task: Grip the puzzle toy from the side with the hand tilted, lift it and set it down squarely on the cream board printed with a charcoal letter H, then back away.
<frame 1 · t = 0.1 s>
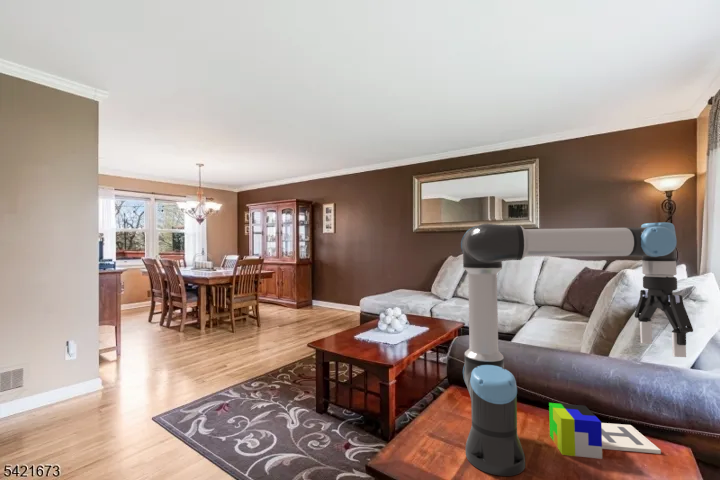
hand: (661, 349, 99), 28 cm above the table, tool pointing down, fingers open, 13 cm apart
letter board: (616, 437, 104), on the table
puzzle toy: (574, 447, 99), on the table
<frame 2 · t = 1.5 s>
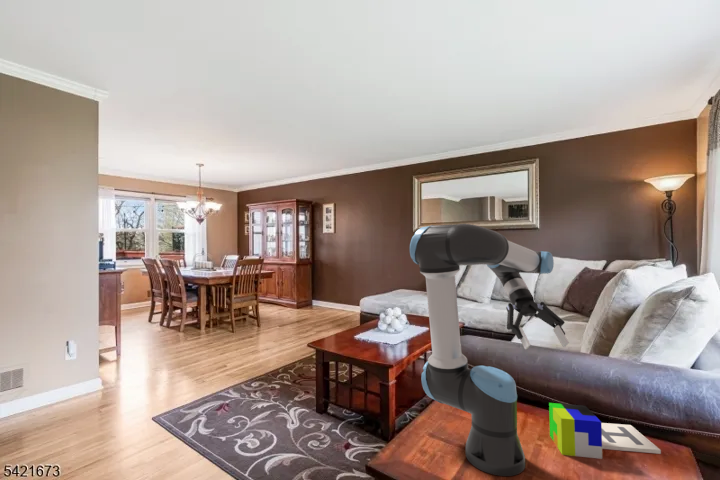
hand: (547, 346, 112), 26 cm above the table, tool tilted 45°, fingers open, 13 cm apart
nothing on the table moved.
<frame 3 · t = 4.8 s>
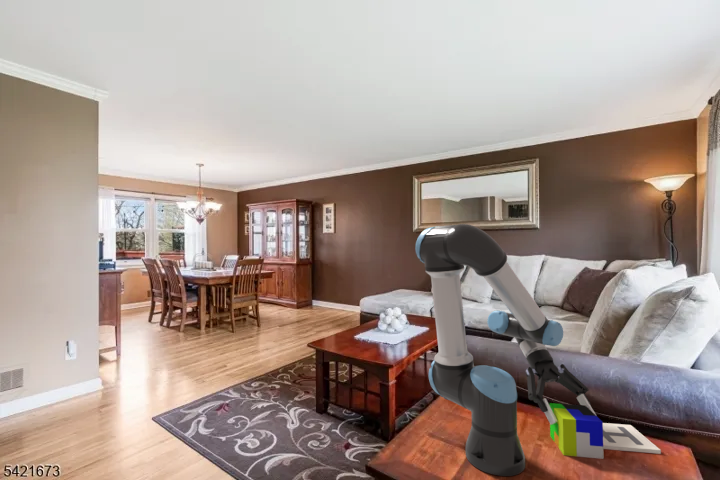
hand: (574, 420, 101), 7 cm above the table, tool tilted 45°, fingers open, 13 cm apart
nothing on the table moved.
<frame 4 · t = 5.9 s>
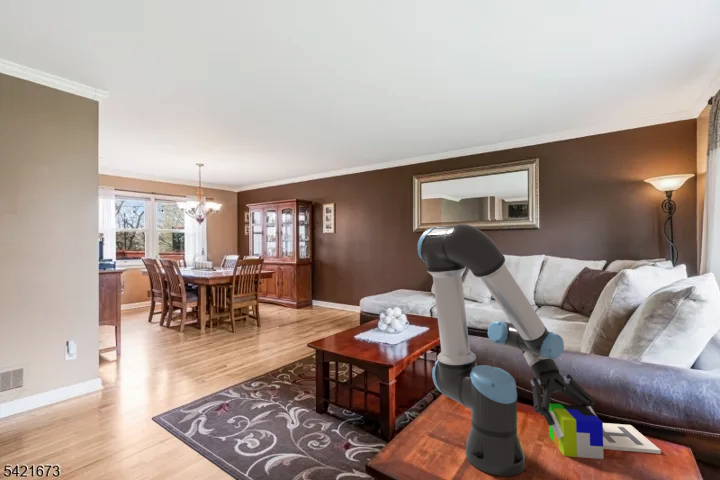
hand: (581, 434, 97), 5 cm above the table, tool tilted 45°, fingers closed on puzzle toy, 12 cm apart
puzzle toy: (575, 447, 99), on the table, touching gripper
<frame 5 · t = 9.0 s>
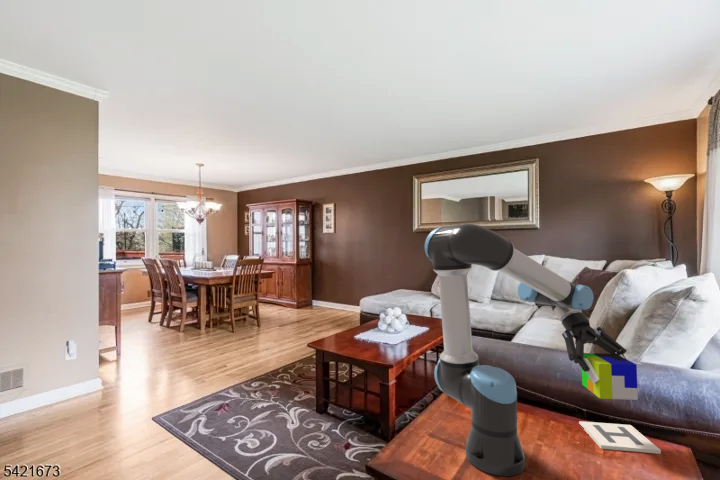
hand: (615, 379, 101), 19 cm above the table, tool tilted 45°, fingers closed on puzzle toy, 12 cm apart
puzzle toy: (608, 392, 103), point 14 cm above the table, touching gripper
when the fingers open (6 cm above the table, at t = 12.0 s): puzzle toy stays where it is, resting on letter board.
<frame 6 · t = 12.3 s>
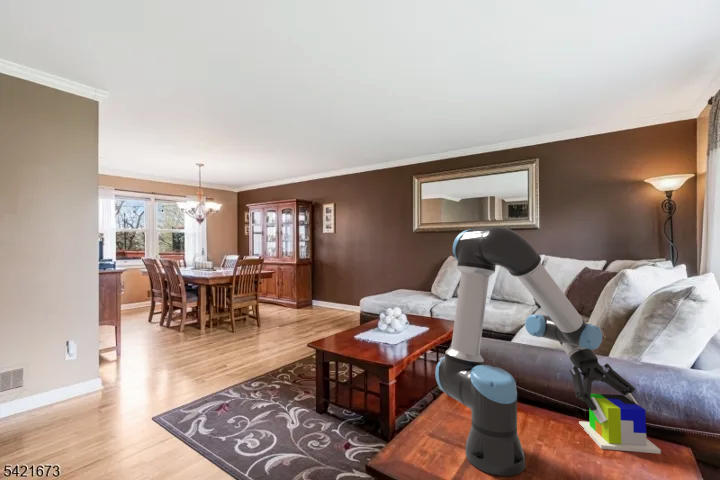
hand: (623, 419, 102), 7 cm above the table, tool tilted 45°, fingers open, 13 cm apart
puzzle toy: (616, 435, 103), point 1 cm above the table, touching gripper, letter board
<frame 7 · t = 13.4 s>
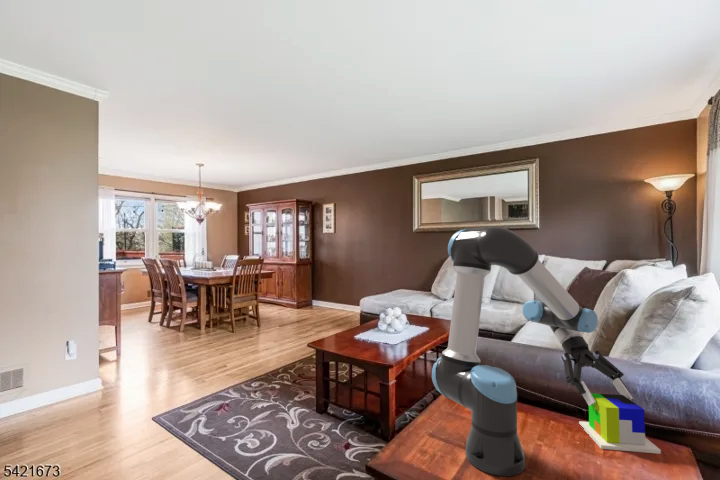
hand: (611, 402, 106), 10 cm above the table, tool tilted 45°, fingers open, 13 cm apart
puzzle toy: (615, 435, 104), point 1 cm above the table, touching letter board
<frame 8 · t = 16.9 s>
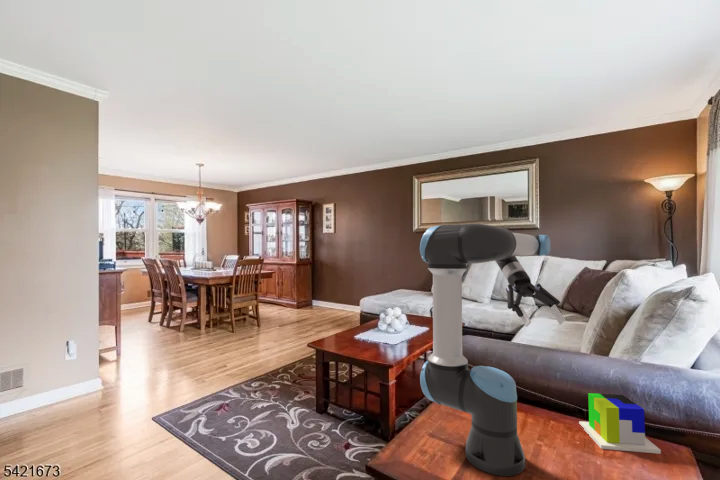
hand: (545, 323, 118), 32 cm above the table, tool tilted 45°, fingers open, 13 cm apart
nothing on the table moved.
at the end: puzzle toy 0.4 cm off-centre on the letter board, point 0.9 cm above the letter board's base; puzzle toy tilted 0°; the gripper is holding nothing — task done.
